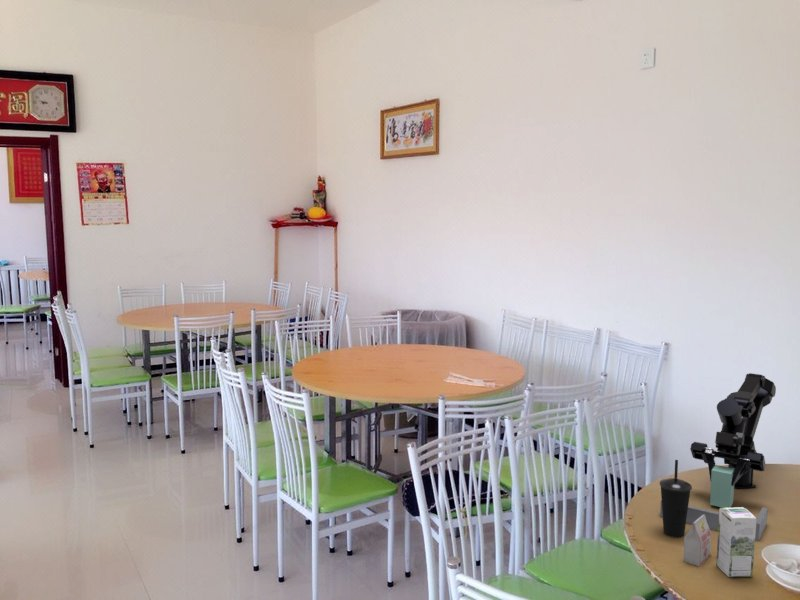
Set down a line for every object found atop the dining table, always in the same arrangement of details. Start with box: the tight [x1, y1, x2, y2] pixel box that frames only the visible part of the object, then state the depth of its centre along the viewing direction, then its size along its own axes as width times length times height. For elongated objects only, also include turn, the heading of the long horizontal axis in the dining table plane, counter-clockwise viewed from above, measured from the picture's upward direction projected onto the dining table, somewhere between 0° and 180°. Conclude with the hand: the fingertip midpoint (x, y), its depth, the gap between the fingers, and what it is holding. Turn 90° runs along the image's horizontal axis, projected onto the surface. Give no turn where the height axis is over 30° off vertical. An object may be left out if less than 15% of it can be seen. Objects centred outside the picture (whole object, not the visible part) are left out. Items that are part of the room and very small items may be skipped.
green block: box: [709, 464, 735, 508], centre depth 188 cm, size 5×5×10 cm
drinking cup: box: [659, 459, 693, 539], centre depth 172 cm, size 8×8×20 cm
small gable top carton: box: [683, 515, 712, 567], centre depth 161 cm, size 4×7×10 cm, turn 136°
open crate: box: [659, 499, 768, 542], centre depth 180 cm, size 12×24×5 cm, turn 53°
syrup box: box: [715, 506, 757, 578], centre depth 154 cm, size 6×6×14 cm
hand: (721, 483), depth 187 cm, fingers closed on green block, 5 cm apart
